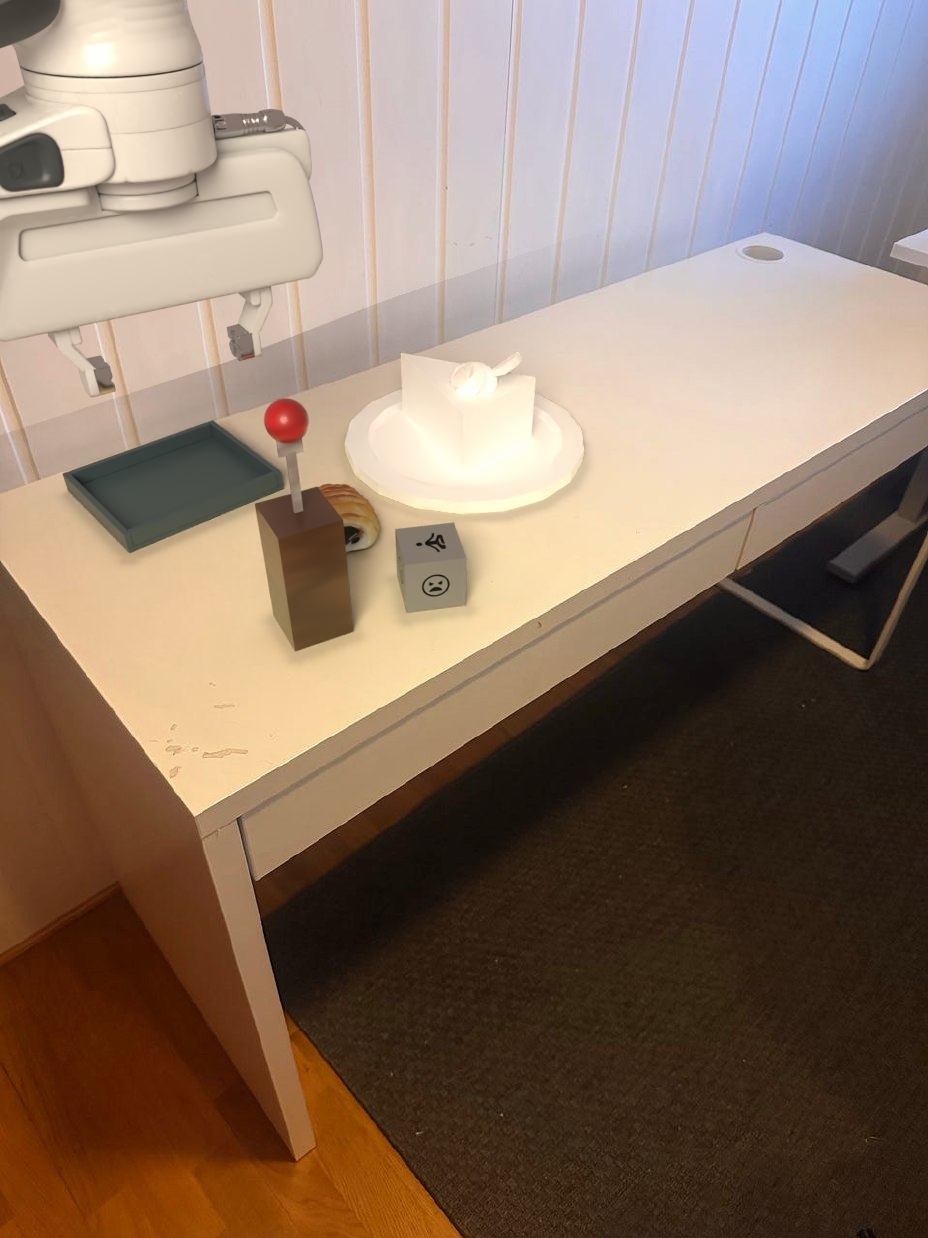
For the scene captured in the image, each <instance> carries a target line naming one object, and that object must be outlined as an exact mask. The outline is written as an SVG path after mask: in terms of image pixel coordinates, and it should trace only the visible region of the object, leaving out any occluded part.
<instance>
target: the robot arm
mask: <svg viewBox="0 0 928 1238" xmlns="http://www.w3.org/2000/svg"><path fill="white" fill-rule="evenodd" d="M188 5H189V4H188V0H0V49H2V48H6V47H9V46H12V48H13V50H14V51H15V52H14V53H15V54H16V58H17V62H18V66H19V69H20V75H21V78H22V80H23V85H22V86H20V87H18V88H16V89H15V90H12V91H10V92H9V93H7V94H4V95H3V96H1V97H0V342H3V343H5V342H11V341H17V340H21V339H27V338H30V337H35V336H40V335H44V334H47V336H48V338H49V339H50V340H51V342H52V343H53V344H54V346H55V347H56V348H57V349H58V351H60V352H61V353H62V355H64V356H65V357H66V358H67V359H68V360H69V361H70V362H71V363H72V364H73V365H74V366H76V368H77V369H78V374H79V377H80V380H81V383H82V386H83V388H84V390H85V392H86V393H87V394H88V396H89V397H90V398H96V397H99V396H103V395H104V396H105V395H108V394H111V393H114V392H115V393H116V391H117V390H116V385H115V382H114V381H113V373H112V369H111V366H110V364H108V362H107V361H105V359H104V357H103V356H102V355H101V354H100V355H96V356H91V357H87V356H86V355H85V354H84V353H83V352H82V351H81V350H80V349H78V347H77V346H78V345H82V343H83V342H84V341H83V338H82V334H81V330H80V327H83V326H88V325H92V324H97V323H102V322H106V321H107V322H108V321H112V320H117V319H121V318H126V317H131V316H135V315H140V314H141V315H142V314H144V313H145V314H146V313H150V312H154V311H155V312H156V311H159V310H164V309H170V308H173V307H174V308H175V307H179V306H183V305H189V304H193V303H199V302H203V301H207V300H213V299H216V298H221V297H226V296H230V295H235V294H236V295H237V294H238V295H239V296H241V298H243V299H245V300H244V304H243V307H242V310H241V313H240V316H239V319H238V323H237V324H233V325H229V326H226V332H227V337H228V338H229V344H228V345H229V349H230V350H229V351H230V352H231V354H232V356H233V357H234V358H237V360H238V361H239V362H242V361H246V360H252V359H254V358H255V359H256V358H259V357H261V356H262V354H263V351H262V344H261V343H262V342H261V336H260V332H262V330H263V327H264V326H265V323H266V320H267V318H268V315H269V313H270V311H271V309H272V306H273V303H274V301H273V293H272V287H274V286H278V285H284V284H288V283H293V282H298V281H302V280H308V279H311V278H313V277H314V276H315V275H316V274H317V272H318V270H319V268H320V266H321V264H322V262H323V260H324V249H323V248H324V247H323V241H322V234H321V228H320V222H319V218H318V212H317V206H316V204H315V203H316V202H315V199H314V198H315V197H314V194H313V191H312V187H311V184H310V180H311V177H312V173H313V172H312V171H313V162H312V150H311V141H310V138H309V135H308V132H307V131H306V129H305V127H304V126H303V125H302V123H300V121H298V120H297V119H296V118H293V117H292V116H289V115H285V113H284V111H283V110H282V109H278V108H267V109H261V110H259V111H258V112H249V113H244V112H243V113H242V112H241V113H238V112H234V113H233V112H232V113H223V114H212V110H211V103H210V96H209V89H208V82H207V75H206V66H205V63H204V54H203V50H202V46H201V42H200V40H199V37H198V35H197V33H196V30H195V28H194V24H193V23H192V20H191V15H190V11H189V6H188ZM287 125H289V126H291V127H288V128H286V126H287Z"/></svg>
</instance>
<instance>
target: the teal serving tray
mask: <svg viewBox="0 0 928 1238" xmlns="http://www.w3.org/2000/svg"><path fill="white" fill-rule="evenodd" d="M62 477H63V480H64V483H65V486H66V490H67V492H69V494H71V495H72V497H74V499H76V501H77V502H78V503H79V504H80V505H81V506H82V508H84V509H85V510H86V511H87V512H88V513H89V514H90V515H91V516H92V517H93V518H94V519H95V520H96V521H97V522H98V523H99V524H100V525H101V526H102V527H103V528H104V529H105V530H106V531H107V532H108V533H109V534H110V536H112V538H114V539H115V540H116V541H117V542H118V543H119V545H121V546H122V547H123V548H124V549H125V550H126V551H127V553H128V554H130V553H132V552H135V551H139V550H141V549H142V548H145V547H147V546H150V545H152V544H155V543H157V542H159V541H162V540H164V539H166V538H169V537H171V536H174V535H176V534H179V533H181V532H183V531H186V530H188V529H191V528H193V527H196V526H198V525H200V524H203V523H205V522H208V521H209V520H212V519H214V518H217V517H219V516H222V515H225V514H226V513H227V514H228V513H229V512H231V511H233V510H237V509H238V508H241V507H243V506H246V505H248V504H251V503H253V502H255V501H258V500H260V499H263V498H265V497H268V496H270V495H272V494H274V493H277V492H279V491H283V490H284V488H285V487H284V481H283V473H282V470H280V469H279V468H277V467H276V466H274V465H273V464H272V463H271V462H270V461H269V460H267V459H265V458H264V457H263V456H261V454H259V453H257V452H256V450H255V451H254V450H253V449H252V448H251V447H249V446H248V445H246V443H244V442H242V441H241V440H240V439H238V438H237V437H236V436H235V435H234V434H232V433H230V431H228V430H227V429H226V428H224V427H223V426H222V425H220V424H219V423H217V422H216V421H214V419H212V420H209V421H206V422H204V423H203V422H202V423H201V424H197V425H195V426H193V427H189V428H186V429H183V430H180V431H177V432H176V433H172V434H170V435H166V436H164V437H161V438H158V439H156V440H153V441H150V442H147V443H144V444H141V445H139V446H136V447H133V448H130V449H127V450H124V451H122V452H119V453H116V454H113V455H110V456H108V457H105V458H102V459H99V460H95V461H93V462H90V463H88V464H85V465H83V466H79V467H77V468H74V469H71V470H68V471H65V472H62Z"/></svg>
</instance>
